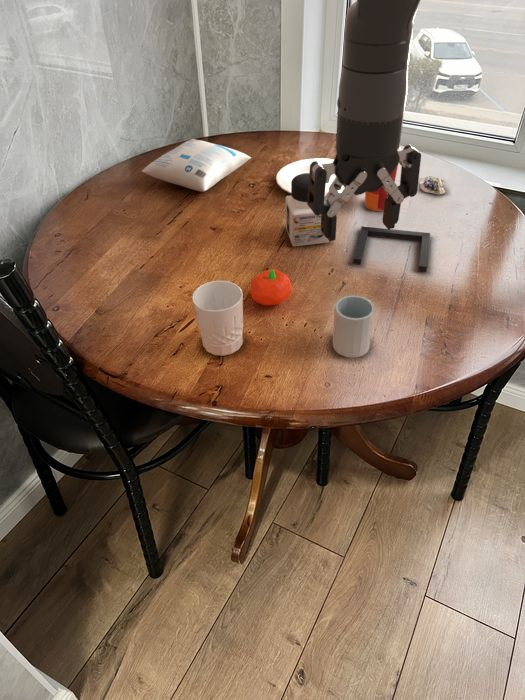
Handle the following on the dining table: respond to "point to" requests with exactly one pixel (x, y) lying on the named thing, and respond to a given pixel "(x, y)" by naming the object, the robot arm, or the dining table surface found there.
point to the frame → (394, 234)
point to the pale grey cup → (352, 326)
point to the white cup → (219, 316)
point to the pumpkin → (270, 287)
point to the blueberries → (432, 185)
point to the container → (302, 215)
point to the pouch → (196, 164)
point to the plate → (298, 168)
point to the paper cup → (378, 195)
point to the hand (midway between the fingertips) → (359, 232)
